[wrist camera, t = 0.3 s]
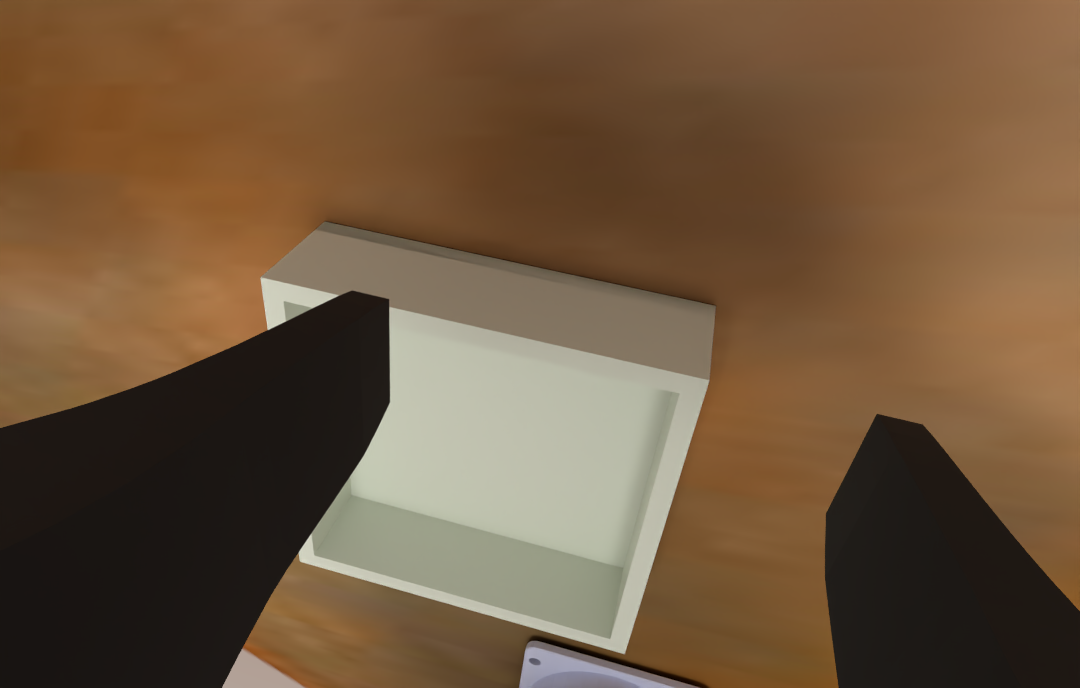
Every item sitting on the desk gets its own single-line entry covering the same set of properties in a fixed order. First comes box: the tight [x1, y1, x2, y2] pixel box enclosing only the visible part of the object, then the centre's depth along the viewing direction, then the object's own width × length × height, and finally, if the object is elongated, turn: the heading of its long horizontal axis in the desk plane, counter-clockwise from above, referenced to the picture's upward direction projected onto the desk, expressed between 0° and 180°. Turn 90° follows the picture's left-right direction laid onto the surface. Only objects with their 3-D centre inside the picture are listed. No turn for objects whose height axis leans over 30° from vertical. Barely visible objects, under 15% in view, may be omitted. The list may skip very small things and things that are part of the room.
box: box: [261, 222, 716, 654], centre depth 23 cm, size 12×12×4 cm
